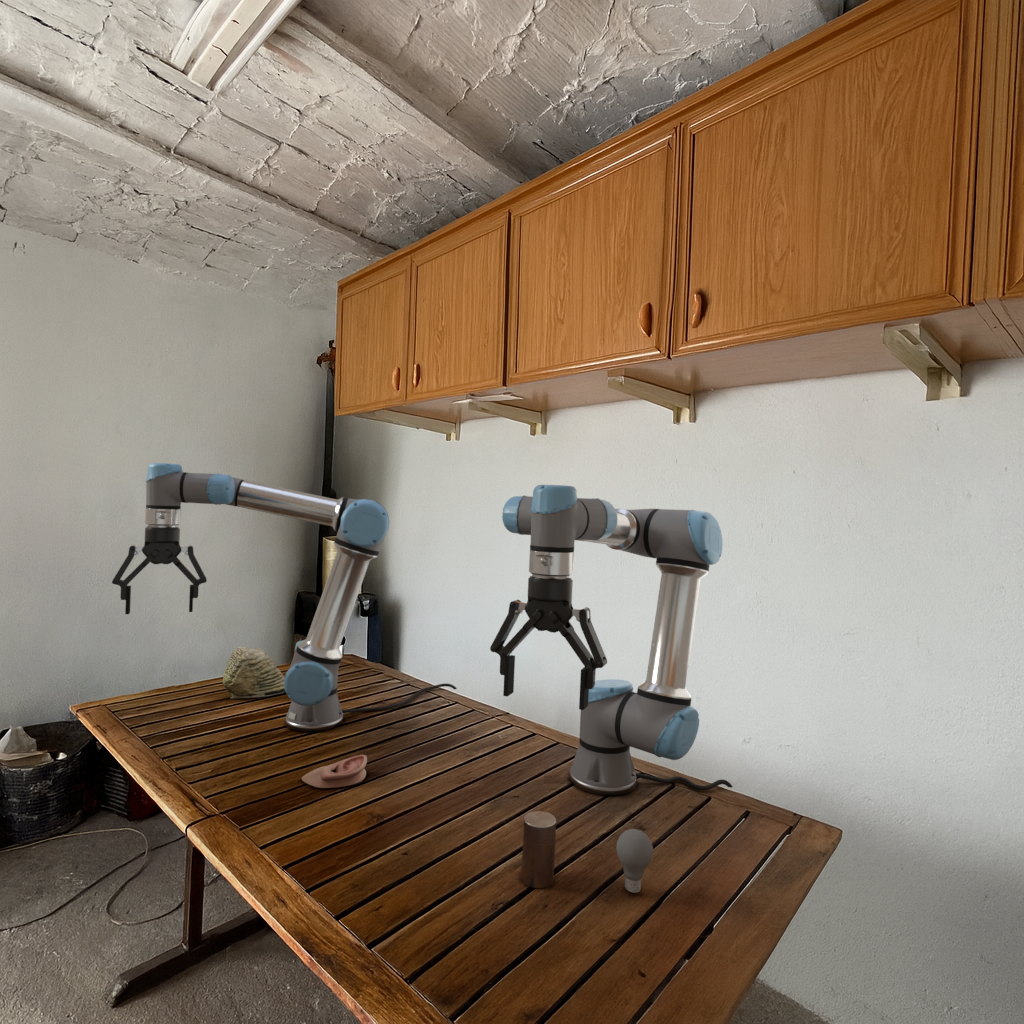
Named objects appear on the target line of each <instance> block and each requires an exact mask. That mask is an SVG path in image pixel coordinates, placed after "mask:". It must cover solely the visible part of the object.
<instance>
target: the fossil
mask: <svg viewBox="0 0 1024 1024" xmlns="http://www.w3.org/2000/svg"><path fill="white" fill-rule="evenodd" d="M222 676H223V677H222V685H223V687H224V688H225V690H226V691H228V693H229V698H230V699H250V698H264V697H271V696H275V695H281V694H284V693H285V688H284V678H285V675H284V674H283V673H282V672H281V669H279V668H278V667H277V665H276V663H275V662H274V660H273V659H272V658H271V657H270V656H269V655H268V654H267V653H266V652H265V650H264V649H263V648H260V647H258V648H251V647H247V646H246V647H245V646H238V647H237V648H236V649H235V650H233V651H232V653H231V656H230V657H229V659H228V660H227V663H226V666H225V668H224V671H223V675H222Z"/></svg>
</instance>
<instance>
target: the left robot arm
mask: <svg viewBox="0 0 1024 1024" xmlns="http://www.w3.org/2000/svg"><path fill="white" fill-rule="evenodd" d="M145 484H146V486H145V488H146V489H145V515H144V516H145V519H144V523H145V525H147V526H146V527H145V528H144V544H143V546H138V545H134V544H132V545H130V546H129V547H128V554H127V556H126V557H125V559H124V561H123V562H122V564H121V566H120V568H118V571H117V572H116V574H115V576H113V579H112V581H111V583H112V585H116V586H119V587H120V601H125V609H124V613H125V615H130V614H131V599H132V596H131V595H132V585H129V583H131V582H132V581H133V579H135V577H137V576H138V574H140V573H141V572H142V571H143V570H144V569H145V568H146V567H147V566H148V565H149V564H150V563H151V564H153V565H161V564H162V565H170V564H172V563H173V565H174V566H175V567H176V568H178V569H179V571H180V572H181V573H182V574H183V575H184V577H185V578H186V579H188V580H189V581H190V583H191V584H189V601H188V603H189V604H188V612H189V613H193V611H194V608H193V607H194V599H198V598H199V587H200V585H201V584H205V583H207V582H208V581H207V577H206V575H205V573H204V571H203V569H202V567H201V565H200V563H199V561H198V559H197V558H196V556H195V554H194V546H193V545H188V546H181V544H180V542H181V541H180V539H181V537H180V536H181V528H180V527H178V526H180V525H181V510H182V509H181V507H182V506H181V505H182V503H184V504H189V503H190V504H205V505H216V506H217V505H218V506H219V505H227V506H231V507H237V508H243V509H247V510H252V511H256V512H260V513H261V512H262V513H266V514H271V515H275V516H281V517H284V518H290V519H295V520H300V521H303V522H304V521H305V522H309V523H315V524H319V525H323V526H328V527H332V529H333V531H334V532H336V536H335V539H334V542H333V544H334V546H335V549H336V554H335V557H334V559H333V562H332V565H331V568H330V571H329V574H328V577H327V579H326V583H325V585H324V588H323V591H322V594H321V597H320V599H319V602H318V605H317V608H316V610H315V613H314V616H313V619H312V622H311V625H310V628H309V630H308V633H307V636H306V638H305V639H303V640H299V641H297V642H296V643H295V648H294V653H293V657H292V660H291V662H290V666H289V668H288V670H287V671H286V673H285V675H284V677H285V678H284V688H285V691H284V693H285V694H286V695H287V697H288V698H289V700H290V701H291V702H290V704H289V708H288V711H287V713H286V715H285V726H286V728H287V729H289V730H291V731H294V732H295V731H296V732H301V733H316V732H325V731H329V730H332V729H335V728H337V727H339V726H340V725H342V723H343V722H344V714H346V713H347V714H348V713H361V712H375V711H381V710H382V711H383V710H387V709H393V708H398V707H400V706H401V707H402V706H403V705H406V704H408V703H409V702H410V701H412V700H413V699H414V698H415V697H417V696H419V695H420V694H422V693H424V692H427V691H430V690H435V689H439V688H442V687H448V688H452V689H453V690H457V689H458V688H457V687H456V686H455V685H453V684H451V683H439V684H436V685H432V686H433V687H432V686H428V687H424V688H422V689H421V688H420V689H419V690H418V691H417V692H415V693H413V694H412V695H411V696H410V697H408V698H407V699H405V700H402V701H400V702H397V703H393V704H388V705H383V706H375V707H364V708H362V707H361V708H349V709H346V708H345V709H342V706H341V702H340V699H339V695H338V682H339V681H338V680H339V679H338V677H339V668H340V665H341V662H342V659H343V653H342V652H341V649H340V647H341V644H342V641H343V638H344V635H345V633H346V630H347V627H348V625H349V621H350V619H351V617H352V613H353V610H354V608H355V605H356V601H357V599H358V596H359V593H360V591H361V587H362V584H363V581H364V580H365V579H364V578H365V577H366V573H367V570H368V568H369V564H370V562H371V561H372V560H375V559H376V558H378V557H379V554H380V551H381V548H382V546H383V542H384V540H385V537H386V536H387V533H388V531H389V528H390V516H389V513H388V512H387V509H386V508H385V507H384V505H382V504H381V503H380V502H379V501H376V500H374V499H371V498H370V499H369V498H362V499H361V498H360V499H359V498H357V499H356V498H349V497H345V496H342V497H340V498H338V499H337V498H332V497H327V496H322V495H318V494H314V493H313V494H312V493H308V492H305V491H299V490H295V489H290V488H285V487H280V486H276V485H270V484H267V483H261V482H257V481H252V480H247V479H243V478H242V479H241V478H236V477H233V476H231V475H230V474H225V473H224V474H223V473H206V472H205V473H204V472H203V473H201V472H186V471H184V470H183V467H182V465H181V464H178V463H164V462H152V463H150V464H149V465H148V466H147V473H146V481H145ZM140 552H141V553H142V554H143V555H144V556H145V557H146V558H144V559H143V561H142V562H140V564H138V565H137V567H136V568H135V569H133V571H132V572H131V573H130V574H128V575H127V576H126V577H125V578H124V579H122V577H123V576H124V574H125V572H126V571H127V569H128V568H129V566H130V564H131V562H132V561H133V559H134V557H135V556H138V555H139V553H140ZM181 552H182V553H184V555H185V556H187V557H188V560H189V561H190V563H191V565H192V566H193V568H194V571H195V572H196V574H197V576H198V578H196V577H195V575H194V574H193V573H192V572H191V571H190V570H189V569H188V568H187V567H186V566H185V565H184V564H183V563H182V561H181V560H180V559H179V558H178V556H179V555H180V554H181Z"/></svg>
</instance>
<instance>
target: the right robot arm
mask: <svg viewBox="0 0 1024 1024" xmlns="http://www.w3.org/2000/svg"><path fill="white" fill-rule="evenodd" d="M501 518H502V519H501V520H502V523H503V525H504V527H505V529H506V530H507V531H508V532H510V533H512V534H518V535H521V536H530V545H529V558H528V559H529V561H528V572H529V574H531V575H530V576H529V577H528V579H527V580H528V581H527V602H522V601H521V600H520V599H516V600H513V601H510V602H509V605H508V611H507V612H508V613H507V615H506V617H505V618H504V620H503V623H502V625H501V626H500V628H499V630H498V632H497V634H496V636H495V638H494V639H493V642H492V643H491V645H490V647H489V650H490V652H492V653H496V654H497V655H499V674H500V675H501V676H503V695H502V696H503V697H509V696H510V695H512V694H513V693H514V689H515V669H516V668H515V667H516V666H515V665H516V655H514V654H512V653H513V652H514V651H515V650H516V648H518V646H519V645H520V644H521V643H522V642H523V641H524V640H525V639H526V638H527V637H528V635H530V633H531V632H532V631H533V630H534V629H536V630H537V632H539V631H540V632H543V631H544V632H545V631H546V632H550V633H555V634H556V633H558V632H559V633H560V635H561V636H562V637H563V638H564V639H565V640H566V642H567V643H568V645H569V646H570V647H571V649H572V650H573V652H574V653H575V654H576V657H577V658H578V660H580V662H581V663H582V665H583V666H584V667H583V668H581V669H580V678H579V679H580V681H579V702H578V709H579V711H580V716H579V718H580V720H579V743H578V748H577V750H576V752H575V754H574V758H573V762H572V764H571V767H570V769H569V780H570V782H571V783H572V784H573V785H574V786H575V787H576V788H578V789H580V790H581V791H584V792H587V793H590V794H595V795H600V796H622V795H625V794H629V793H630V792H632V791H634V790H635V789H636V787H637V779H641V780H642V779H643V780H648V781H653V782H657V783H660V784H661V783H662V784H671V783H673V782H682V783H684V784H686V785H688V786H689V787H691V788H692V789H695V790H698V791H710V790H712V789H714V788H717V787H719V786H720V785H725V786H726V787H727V788H733V787H734V786H733V785H732V783H730V782H729V780H726V779H717V780H715V781H712V782H711V783H709V784H706V785H700V784H696V783H695V782H693V781H692V780H690V779H688V778H687V777H684V776H679V775H675V776H672V777H668V778H663V777H659V776H654V775H650V774H645V773H639V772H636V769H635V766H634V762H633V758H632V754H631V751H630V750H631V748H633V749H636V750H640V751H643V752H646V753H649V754H651V755H654V756H656V757H658V758H664V759H668V760H671V761H678V760H680V759H682V758H683V757H685V756H686V755H687V754H688V753H689V751H690V750H691V748H692V747H693V745H694V743H695V741H696V738H697V735H698V732H699V728H700V718H699V717H700V714H699V712H698V710H697V709H696V708H695V707H694V706H691V705H692V695H691V694H690V692H689V691H688V690H687V681H688V672H689V667H690V666H689V665H690V659H691V652H692V651H691V650H692V645H693V636H694V629H695V623H696V622H695V621H696V614H697V607H698V599H699V594H700V587H701V586H700V585H701V580H702V579H703V578H704V577H705V576H707V575H708V574H709V571H710V566H713V565H716V564H717V563H718V562H719V561H720V558H721V557H722V554H723V535H722V529H721V527H720V524H719V521H718V520H717V518H716V517H715V516H714V515H713V514H712V513H710V512H708V511H703V510H695V509H668V508H667V509H666V508H638V509H625V508H615V507H614V505H613V504H612V503H611V502H610V501H607V500H606V499H600V498H583V497H578V496H577V489H576V487H575V486H573V485H566V484H565V485H563V484H561V485H560V484H537V485H535V487H534V488H533V491H532V496H530V495H529V496H527V495H519V496H517V495H516V496H512V497H509V498H508V499H507V501H506V502H505V503H504V505H503V507H502V516H501ZM575 541H577V542H587V543H595V544H601V545H606V546H607V547H608V548H610V549H611V550H614V551H622V552H625V553H628V554H633V555H637V556H641V557H643V558H644V557H645V558H650V559H655V566H656V568H657V569H658V571H659V572H660V580H659V588H658V593H657V601H656V607H655V613H654V620H653V621H654V622H653V627H652V629H653V630H652V635H651V642H650V649H649V656H648V664H647V670H646V676H645V680H644V681H642V683H640V684H638V686H637V691H636V692H634V687H633V683H632V682H630V681H629V680H624V679H615V678H614V679H612V678H610V679H609V678H608V679H599V680H597V679H596V672H597V671H596V670H597V669H602V668H604V666H606V665H607V664H608V659H607V656H606V653H605V651H604V649H603V646H602V644H601V642H600V640H599V637H598V635H597V632H596V630H595V627H594V625H593V622H592V617H591V609H590V608H589V607H588V606H587V607H583V608H574V606H573V586H574V585H573V583H574V580H573V579H572V578H571V576H573V575H574V563H575V562H574V561H575ZM524 612H525V613H526V615H527V617H528V618H529V619H528V620H527V621H526V622H525V623H524V624H523V625H522V627H521V628H520V629H519V630H518V631H517V632H516V633H515V634H514V636H513V637H511V639H510V640H509V641H508V642H507V643H506V641H507V639H508V638H509V635H510V633H511V632H512V630H513V628H514V626H515V624H516V622H517V621H518V618H519V617H520V615H522V614H523V613H524ZM573 617H575V620H576V621H577V622H578V623H579V626H580V628H581V631H582V634H583V635H584V638H585V641H586V644H587V646H588V648H589V649H588V648H587V646H586V645H585V644H584V643H583V641H582V640H581V638H580V636H579V635H578V634H577V632H576V630H575V628H574V626H573V624H571V621H570V620H571V619H572V618H573ZM505 643H506V644H505ZM504 644H505V645H504ZM589 650H590V651H589Z"/></svg>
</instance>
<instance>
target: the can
mask: <svg viewBox="0 0 1024 1024" xmlns="http://www.w3.org/2000/svg"><path fill="white" fill-rule="evenodd" d="M522 834H523V836H522V851H521V852H522V854H521V855H522V856H521V875H520V876H521V877H520V878H521V881H522V883H523V884H524V885H526V886H527V887H530V888H533V889H545V888H548V887H550V886H551V885H553V883H554V880H555V879H554V877H555V859H556V858H555V856H556V854H555V853H556V834H557V818H556V817H555V816H554V815H553V814H552V813H550V812H546V811H542V810H536V811H530V812H528V813H526V814H525V815H524V817H523V832H522Z"/></svg>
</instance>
